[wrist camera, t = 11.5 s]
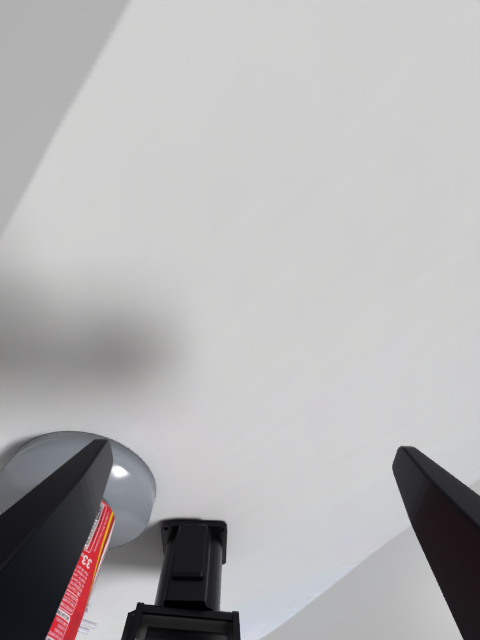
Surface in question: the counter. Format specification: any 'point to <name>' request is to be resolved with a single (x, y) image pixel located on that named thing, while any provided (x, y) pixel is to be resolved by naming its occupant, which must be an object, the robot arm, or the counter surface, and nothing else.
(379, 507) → the counter surface
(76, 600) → the soda can
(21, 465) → the base
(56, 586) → the robot arm
